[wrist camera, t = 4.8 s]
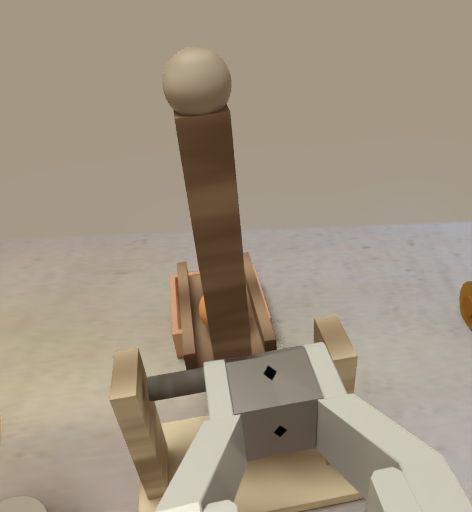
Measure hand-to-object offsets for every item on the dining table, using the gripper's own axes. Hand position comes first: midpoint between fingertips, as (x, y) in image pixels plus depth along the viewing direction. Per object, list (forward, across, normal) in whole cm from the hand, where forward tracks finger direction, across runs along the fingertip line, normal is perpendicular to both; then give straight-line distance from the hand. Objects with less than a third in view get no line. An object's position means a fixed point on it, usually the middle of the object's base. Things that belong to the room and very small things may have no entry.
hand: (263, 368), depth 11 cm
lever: (+18, 0, -16) cm, 24 cm away
